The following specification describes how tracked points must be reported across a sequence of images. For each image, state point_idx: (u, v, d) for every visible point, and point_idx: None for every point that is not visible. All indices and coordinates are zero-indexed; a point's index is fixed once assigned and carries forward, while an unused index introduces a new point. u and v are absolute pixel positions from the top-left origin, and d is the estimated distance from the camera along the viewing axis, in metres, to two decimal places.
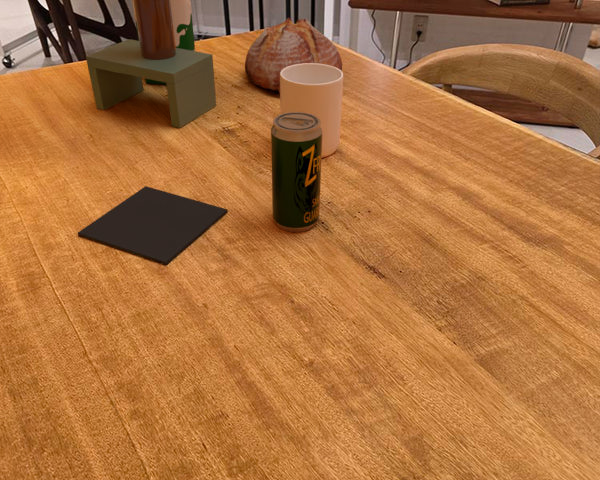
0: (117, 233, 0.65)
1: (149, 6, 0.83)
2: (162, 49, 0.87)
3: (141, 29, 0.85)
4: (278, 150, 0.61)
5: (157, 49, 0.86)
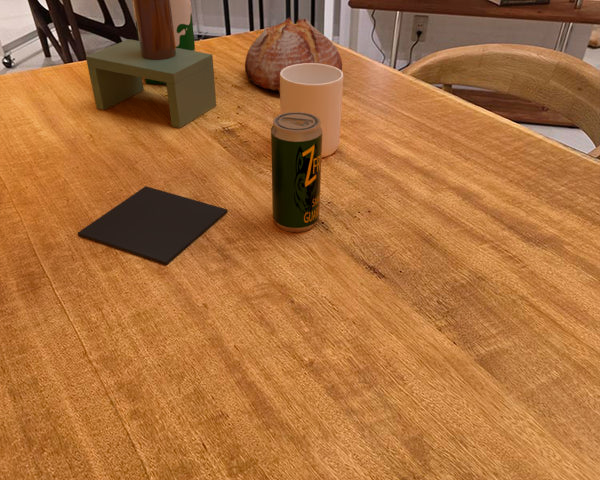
0: (117, 233, 0.65)
1: (149, 6, 0.83)
2: (162, 49, 0.87)
3: (141, 29, 0.85)
4: (278, 150, 0.61)
5: (157, 49, 0.86)
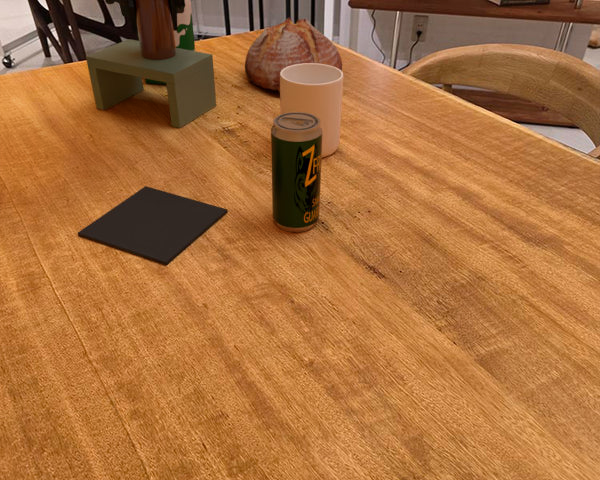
0: (117, 233, 0.65)
1: (149, 6, 0.83)
2: (162, 49, 0.87)
3: (141, 29, 0.85)
4: (278, 150, 0.61)
5: (157, 49, 0.86)
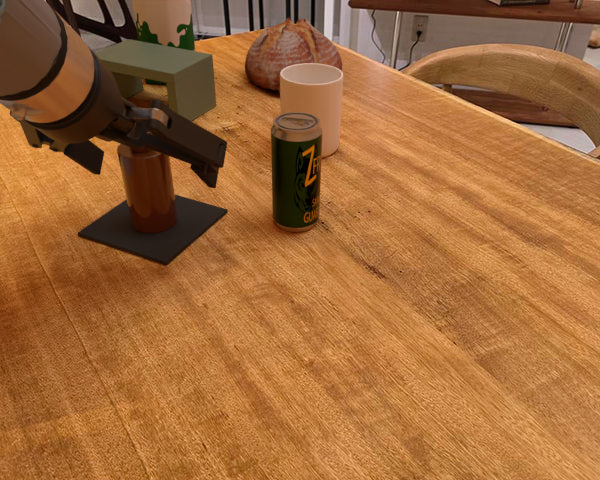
0: (117, 233, 0.65)
1: (130, 172, 0.61)
2: (148, 222, 0.64)
3: None
4: (278, 150, 0.61)
5: (142, 221, 0.64)
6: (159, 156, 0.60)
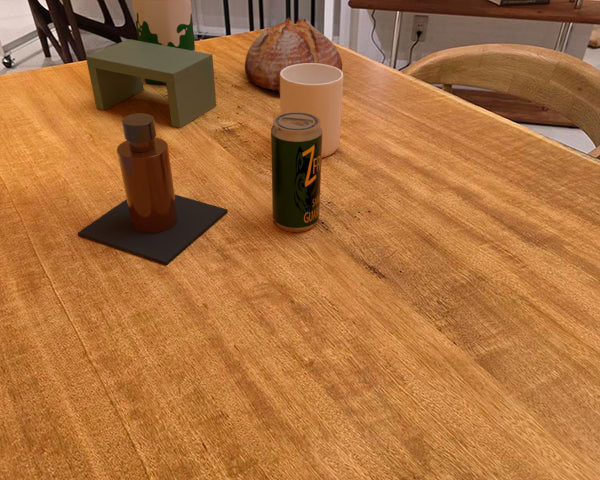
0: (117, 233, 0.65)
1: (130, 172, 0.61)
2: (148, 222, 0.64)
3: None
4: (278, 150, 0.61)
5: (142, 221, 0.64)
6: (159, 156, 0.60)
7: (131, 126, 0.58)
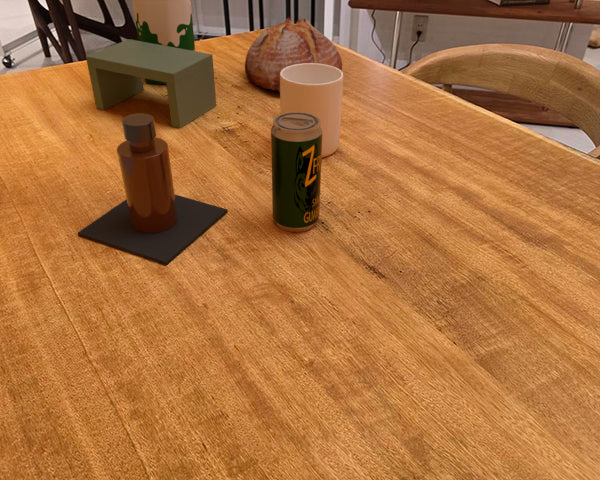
0: (117, 233, 0.65)
1: (130, 172, 0.61)
2: (148, 222, 0.64)
3: None
4: (278, 150, 0.61)
5: (142, 221, 0.64)
6: (159, 156, 0.60)
7: (131, 126, 0.58)
